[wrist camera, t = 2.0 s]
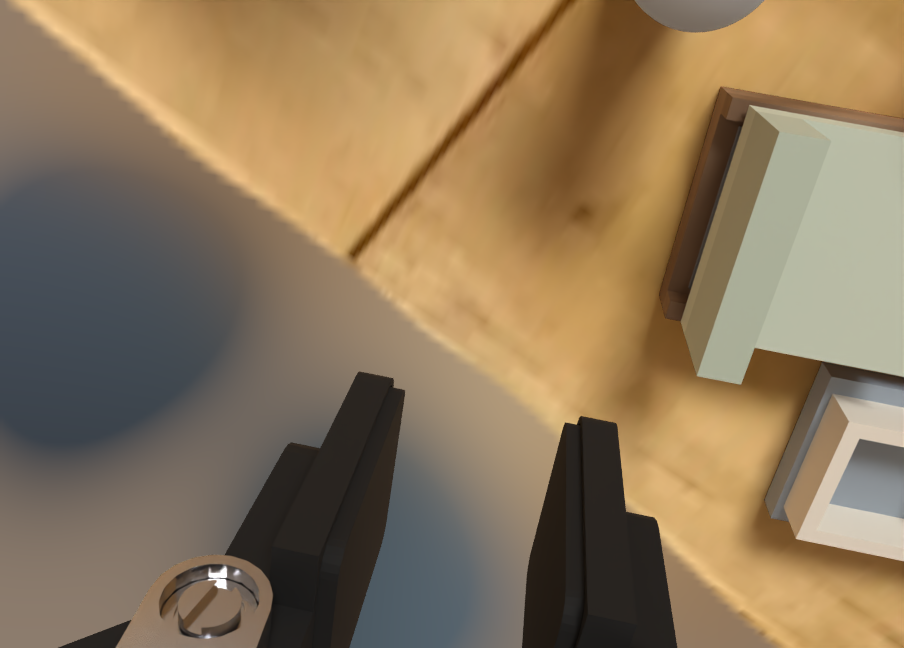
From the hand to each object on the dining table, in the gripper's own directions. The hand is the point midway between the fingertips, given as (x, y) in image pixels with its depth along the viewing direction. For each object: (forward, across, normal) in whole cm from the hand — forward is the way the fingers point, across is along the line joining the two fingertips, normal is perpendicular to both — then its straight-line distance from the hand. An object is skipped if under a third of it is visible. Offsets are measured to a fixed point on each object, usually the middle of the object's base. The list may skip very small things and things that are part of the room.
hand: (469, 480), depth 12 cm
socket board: (+19, -18, +9) cm, 28 cm away
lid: (+17, -11, 0) cm, 20 cm away
